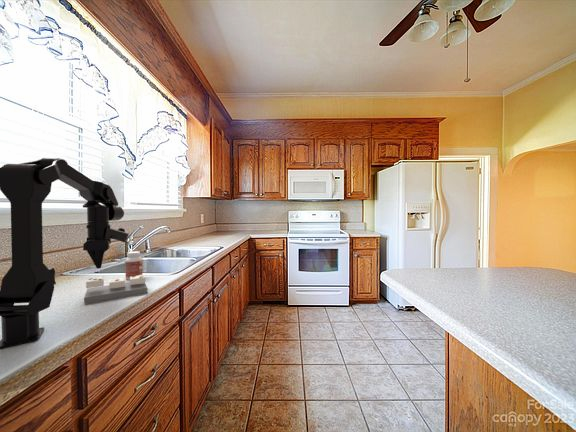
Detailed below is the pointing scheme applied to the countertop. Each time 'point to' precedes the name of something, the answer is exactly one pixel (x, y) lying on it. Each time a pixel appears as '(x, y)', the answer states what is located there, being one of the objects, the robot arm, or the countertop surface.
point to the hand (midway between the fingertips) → (98, 268)
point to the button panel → (113, 292)
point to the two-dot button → (137, 279)
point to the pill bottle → (133, 264)
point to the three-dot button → (95, 282)
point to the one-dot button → (117, 283)
